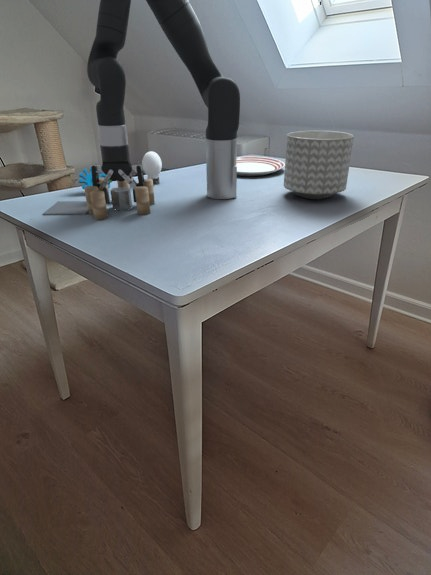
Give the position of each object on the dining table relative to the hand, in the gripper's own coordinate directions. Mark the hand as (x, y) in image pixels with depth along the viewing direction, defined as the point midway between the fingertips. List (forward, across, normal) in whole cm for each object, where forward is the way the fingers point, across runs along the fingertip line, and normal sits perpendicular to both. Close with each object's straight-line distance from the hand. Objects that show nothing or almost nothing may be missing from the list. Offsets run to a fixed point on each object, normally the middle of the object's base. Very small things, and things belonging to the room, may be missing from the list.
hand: (121, 201), depth 114 cm
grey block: (+2, 0, 0) cm, 2 cm away
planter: (+2, -58, -11) cm, 59 cm away
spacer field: (+2, 0, 0) cm, 2 cm away
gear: (+2, +12, -18) cm, 22 cm away
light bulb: (+2, -5, -29) cm, 29 cm away
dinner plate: (+2, -41, -49) cm, 64 cm away
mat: (+2, +15, 0) cm, 15 cm away
